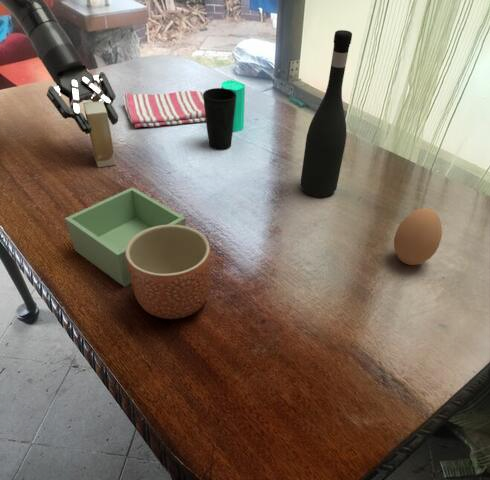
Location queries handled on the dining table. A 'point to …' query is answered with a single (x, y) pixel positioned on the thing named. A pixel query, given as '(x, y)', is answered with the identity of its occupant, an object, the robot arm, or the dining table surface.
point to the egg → (418, 236)
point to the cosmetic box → (100, 133)
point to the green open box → (116, 229)
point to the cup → (219, 116)
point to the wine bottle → (327, 129)
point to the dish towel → (165, 108)
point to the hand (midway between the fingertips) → (102, 127)
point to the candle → (237, 102)
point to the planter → (169, 270)
